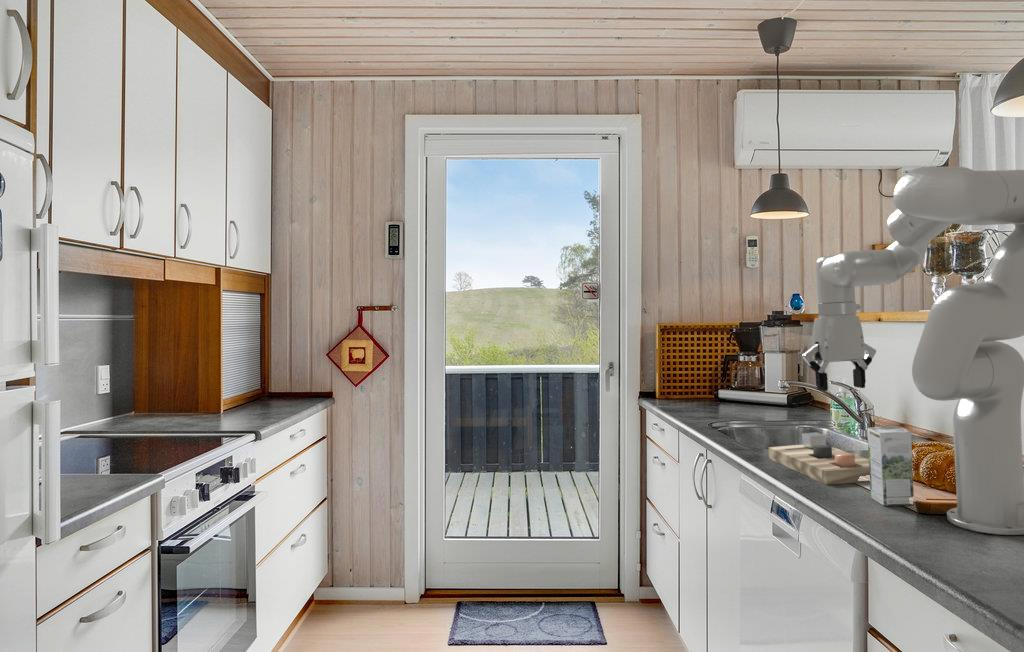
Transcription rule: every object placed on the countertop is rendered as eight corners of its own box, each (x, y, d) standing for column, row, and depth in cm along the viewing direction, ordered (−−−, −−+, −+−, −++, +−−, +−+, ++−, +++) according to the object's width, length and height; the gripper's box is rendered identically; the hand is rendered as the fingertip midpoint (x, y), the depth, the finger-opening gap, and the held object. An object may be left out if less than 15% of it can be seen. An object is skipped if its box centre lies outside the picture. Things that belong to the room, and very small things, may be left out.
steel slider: (826, 447, 162) (825, 435, 162) (810, 448, 162) (810, 436, 162) (817, 443, 166) (816, 432, 166) (802, 445, 166) (801, 433, 166)
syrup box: (900, 497, 130) (896, 424, 129) (915, 506, 124) (911, 430, 124) (870, 498, 130) (866, 426, 130) (884, 507, 124) (879, 431, 124)
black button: (835, 461, 153) (835, 447, 153) (819, 462, 153) (818, 449, 152) (826, 457, 157) (825, 444, 157) (810, 458, 157) (809, 445, 156)
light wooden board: (887, 479, 142) (886, 465, 142) (826, 484, 141) (825, 471, 141) (821, 454, 168) (820, 442, 168) (769, 458, 167) (768, 447, 167)
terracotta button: (859, 470, 144) (858, 455, 144) (842, 471, 144) (841, 457, 144) (848, 465, 148) (847, 452, 148) (831, 467, 148) (831, 453, 148)
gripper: (863, 308, 149) (867, 384, 150) (790, 313, 148) (795, 389, 148) (884, 308, 142) (888, 387, 142) (808, 313, 141) (813, 393, 141)
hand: (841, 388), depth 145 cm, fingers open, 8 cm apart
